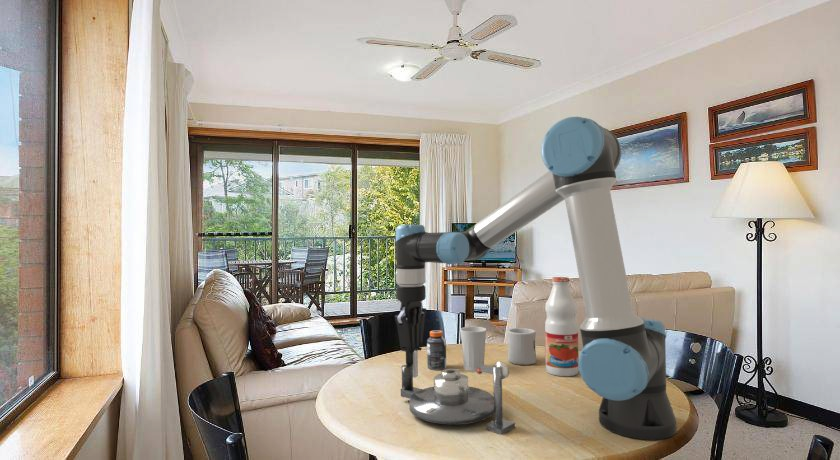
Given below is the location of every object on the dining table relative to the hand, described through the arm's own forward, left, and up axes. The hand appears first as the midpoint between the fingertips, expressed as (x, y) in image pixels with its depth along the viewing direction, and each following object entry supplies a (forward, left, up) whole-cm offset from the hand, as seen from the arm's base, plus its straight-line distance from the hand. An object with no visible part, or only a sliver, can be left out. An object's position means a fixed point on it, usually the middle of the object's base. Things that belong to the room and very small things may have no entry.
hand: (411, 376), depth 121 cm
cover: (-15, +1, -2) cm, 15 cm away
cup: (+3, -30, -5) cm, 31 cm away
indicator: (-26, +1, -5) cm, 27 cm away
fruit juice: (-19, -44, -5) cm, 48 cm away
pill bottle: (+12, -23, -5) cm, 27 cm away
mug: (-3, -47, -5) cm, 47 cm away
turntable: (-12, +2, -4) cm, 13 cm away
